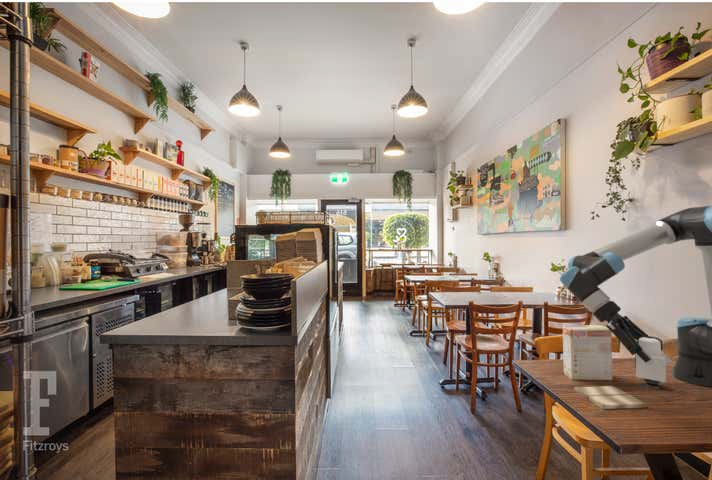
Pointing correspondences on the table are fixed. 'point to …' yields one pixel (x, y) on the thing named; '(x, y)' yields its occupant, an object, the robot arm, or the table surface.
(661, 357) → the medicine bottle
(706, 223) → the robot arm
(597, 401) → the maple board
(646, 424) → the table surface
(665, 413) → the table surface
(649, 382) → the grey chess piece
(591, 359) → the coffeecake box
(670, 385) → the table surface
